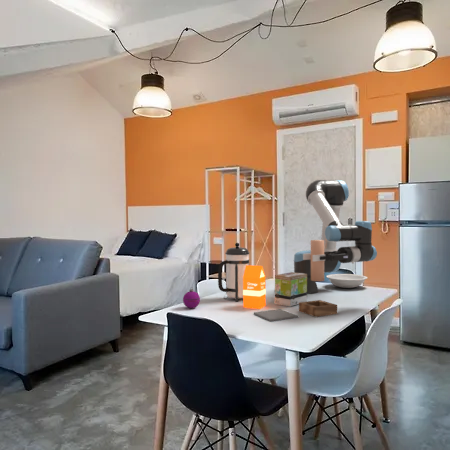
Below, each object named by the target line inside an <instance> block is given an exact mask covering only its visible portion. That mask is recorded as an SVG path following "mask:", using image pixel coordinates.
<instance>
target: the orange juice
mask: <svg viewBox="0 0 450 450" xmlns="http://www.w3.org/2000/svg"><path fill="white" fill-rule="evenodd" d="M266 295H267V291H266V274H265V271H264V267H263V265H252V264H249V265H246V267H245V272H244V276H243V298H242V299H243V300H242V301H243V302H242V304H243V306H242V307H243V309H244V308H247V309H253V310H254V309H255V310H256V309H257V310H261V309H263V308H265V307H266V306H267V302H266V299H267V297H266Z"/></svg>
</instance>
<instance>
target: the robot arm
mask: <svg viewBox="0 0 450 450" xmlns="http://www.w3.org/2000/svg"><path fill="white" fill-rule="evenodd" d="M349 195H350V193H349V187H348V184H347V183H346V182H345V180H341V179H340V180H339V179H317V180H314V181H312V182H311V183H310V184H309V185H308V186H307V187H306V191H305V198H306V201H307V202H308V204H309V205H310V206H312V207H313V210H315V212H316V214H317V215H318V218H320V220H321V222H322V230H321V239H320V240H324V254H322V255H313V261H324V273H330V274H331V273H336V272H337V271H339V269H340V268H341V265H342V264H347V263H351V264H354V263H362V262H371V261H374V260H375V259H376V258H377V256H378V251H377V248H376V247H375V246H374V245H373V244H372V239H373V237H372V235H373V233H372V232H373V227H372V222H371V221H370V220H359V221H358V220H356V221H355V223H354V224H351V225H347V224H346V225H344V224H343V223H342V222H341V220H340V213H341V212H340V211H341V207H343V206H344V202H346V201H347V200H348V199H349V197H350V196H349ZM337 242H354V245H353V246H341V247H339V248H338V249H337ZM293 272H294V273H303V274H307V295H308V294H315V293H318V292H319V288H318V283H317V281H311V249H308V250H302V251H297V252H295V253H294V256H293Z"/></svg>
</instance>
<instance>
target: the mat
mask: <svg viewBox="0 0 450 450" xmlns="http://www.w3.org/2000/svg"><path fill="white" fill-rule="evenodd" d="M253 315H254V316H257V317H260V318H262V319H264V320H266V321H269V322H276V321H277V322H279V321H282V320H283V321H284V320H291V319H297V318H299V315H298V314H295V313H292V312H289V311H286V310H284V309H281V308H277V309H272V310H264V311H263V310H262V311H254V312H253Z"/></svg>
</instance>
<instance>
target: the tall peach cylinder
mask: <svg viewBox="0 0 450 450" xmlns="http://www.w3.org/2000/svg"><path fill="white" fill-rule="evenodd" d="M310 250H311V281H316V282H325V272H324V261H313V255H322V254H324V240H321V239H311V240H310Z"/></svg>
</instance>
